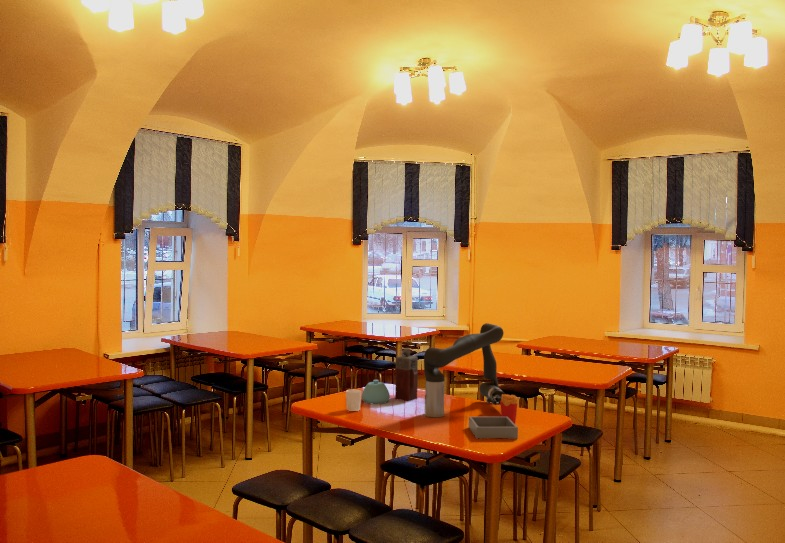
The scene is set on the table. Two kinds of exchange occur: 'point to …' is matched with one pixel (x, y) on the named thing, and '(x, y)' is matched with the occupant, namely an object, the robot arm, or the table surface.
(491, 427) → the bin
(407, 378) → the brown coffee grinder
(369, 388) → the sugar bowl
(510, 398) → the french fries
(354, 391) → the white cup
